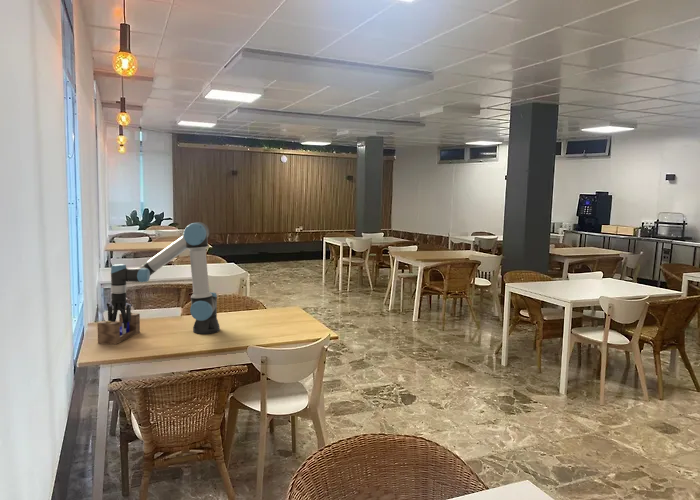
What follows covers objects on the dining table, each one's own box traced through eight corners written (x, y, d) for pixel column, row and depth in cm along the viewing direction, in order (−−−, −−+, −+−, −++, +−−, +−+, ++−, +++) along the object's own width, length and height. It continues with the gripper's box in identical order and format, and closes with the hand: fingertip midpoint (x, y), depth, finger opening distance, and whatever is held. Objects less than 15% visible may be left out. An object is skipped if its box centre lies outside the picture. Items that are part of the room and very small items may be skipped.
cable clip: (122, 331, 285) (121, 320, 284) (129, 331, 284) (129, 321, 284) (108, 337, 273) (108, 326, 272) (116, 337, 272) (116, 326, 272)
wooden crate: (139, 332, 290) (139, 312, 289) (115, 344, 267) (115, 322, 265) (123, 331, 291) (123, 311, 290) (97, 343, 268) (97, 321, 267)
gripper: (137, 291, 279) (138, 333, 281) (108, 290, 281) (108, 331, 284) (130, 294, 272) (130, 336, 274) (99, 292, 274) (100, 334, 276)
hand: (119, 333), depth 279 cm, fingers closed on cable clip, 4 cm apart
